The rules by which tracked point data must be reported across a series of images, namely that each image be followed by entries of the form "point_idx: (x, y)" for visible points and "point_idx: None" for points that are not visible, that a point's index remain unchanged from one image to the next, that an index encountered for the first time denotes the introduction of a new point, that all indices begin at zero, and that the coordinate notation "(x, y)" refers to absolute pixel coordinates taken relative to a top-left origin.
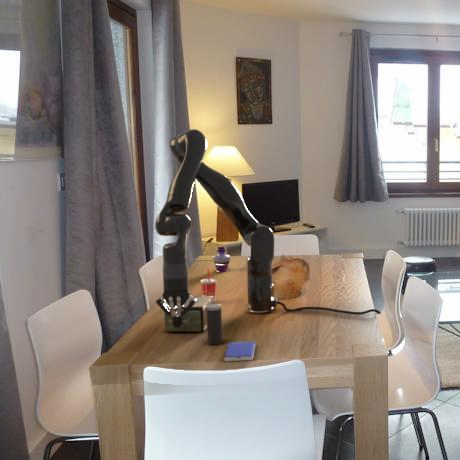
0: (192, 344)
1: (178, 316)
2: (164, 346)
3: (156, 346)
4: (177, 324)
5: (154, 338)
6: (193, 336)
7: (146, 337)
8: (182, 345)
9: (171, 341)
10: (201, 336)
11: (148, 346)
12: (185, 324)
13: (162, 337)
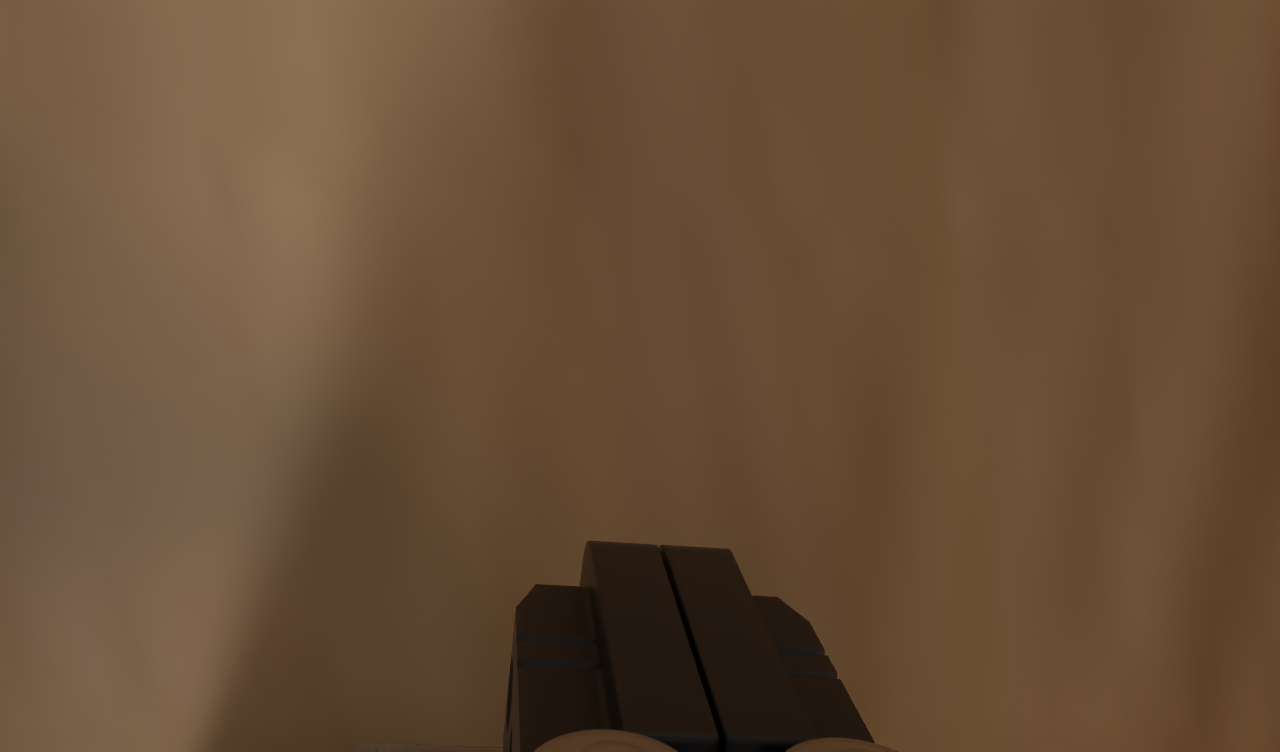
0: (181, 93)
1: (622, 734)
2: (838, 31)
3: (1015, 56)
4: (639, 575)
5: (1104, 585)
6: (305, 657)
7: (1256, 651)
8: (421, 48)
9: (733, 368)
10: (115, 647)
11: (1184, 80)
12: (429, 748)
13: (956, 633)
